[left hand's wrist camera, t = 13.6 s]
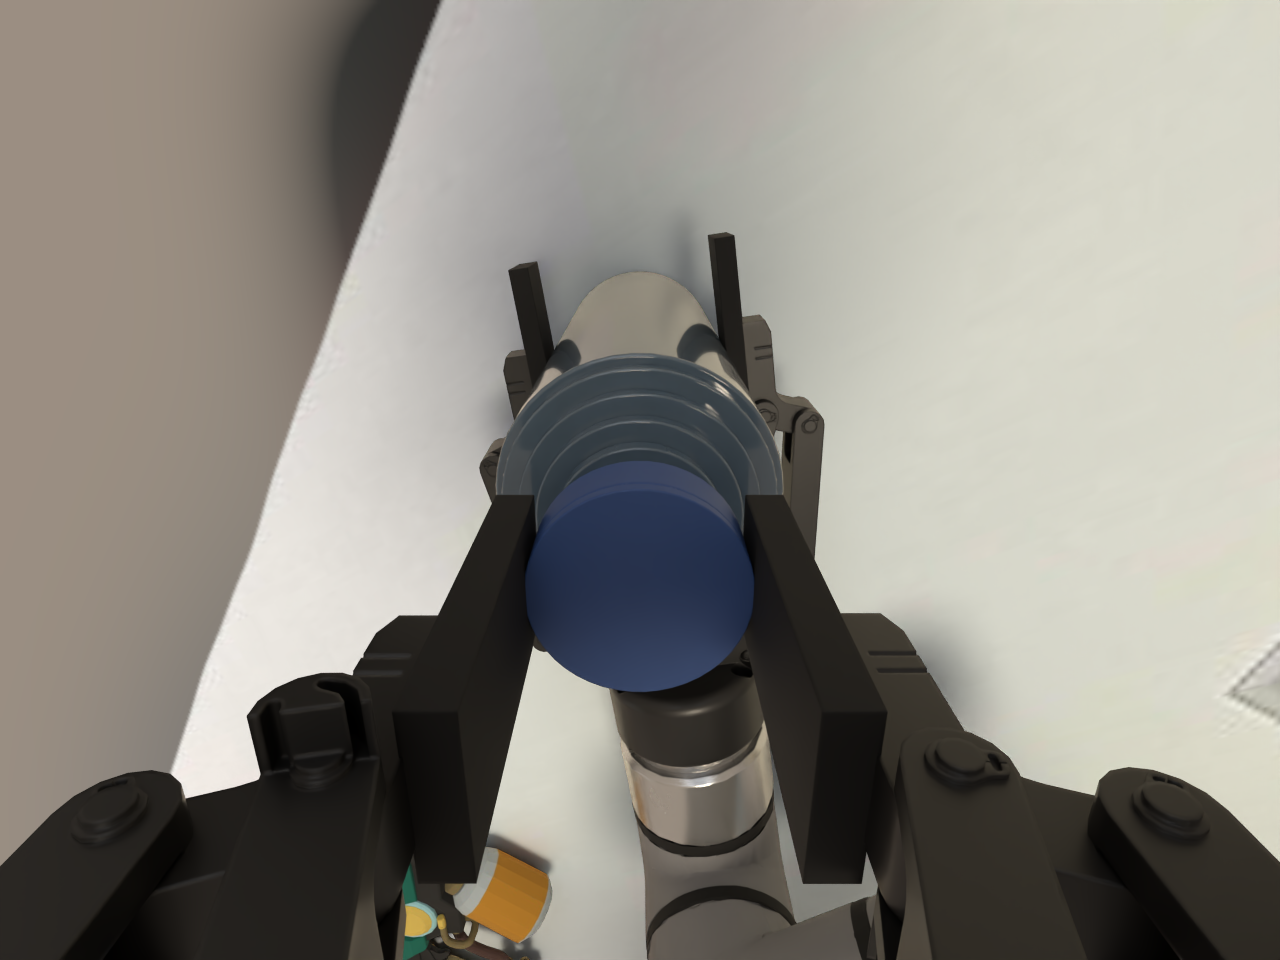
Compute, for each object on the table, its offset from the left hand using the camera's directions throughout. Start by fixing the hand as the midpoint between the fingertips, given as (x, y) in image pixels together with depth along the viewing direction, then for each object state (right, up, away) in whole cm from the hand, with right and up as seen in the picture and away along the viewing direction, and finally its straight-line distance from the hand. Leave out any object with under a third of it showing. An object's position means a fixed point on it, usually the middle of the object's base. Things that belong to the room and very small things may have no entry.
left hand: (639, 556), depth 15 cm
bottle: (0, +8, +22) cm, 23 cm away
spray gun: (-13, -28, +36) cm, 47 cm away
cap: (0, 0, -1) cm, 1 cm away
